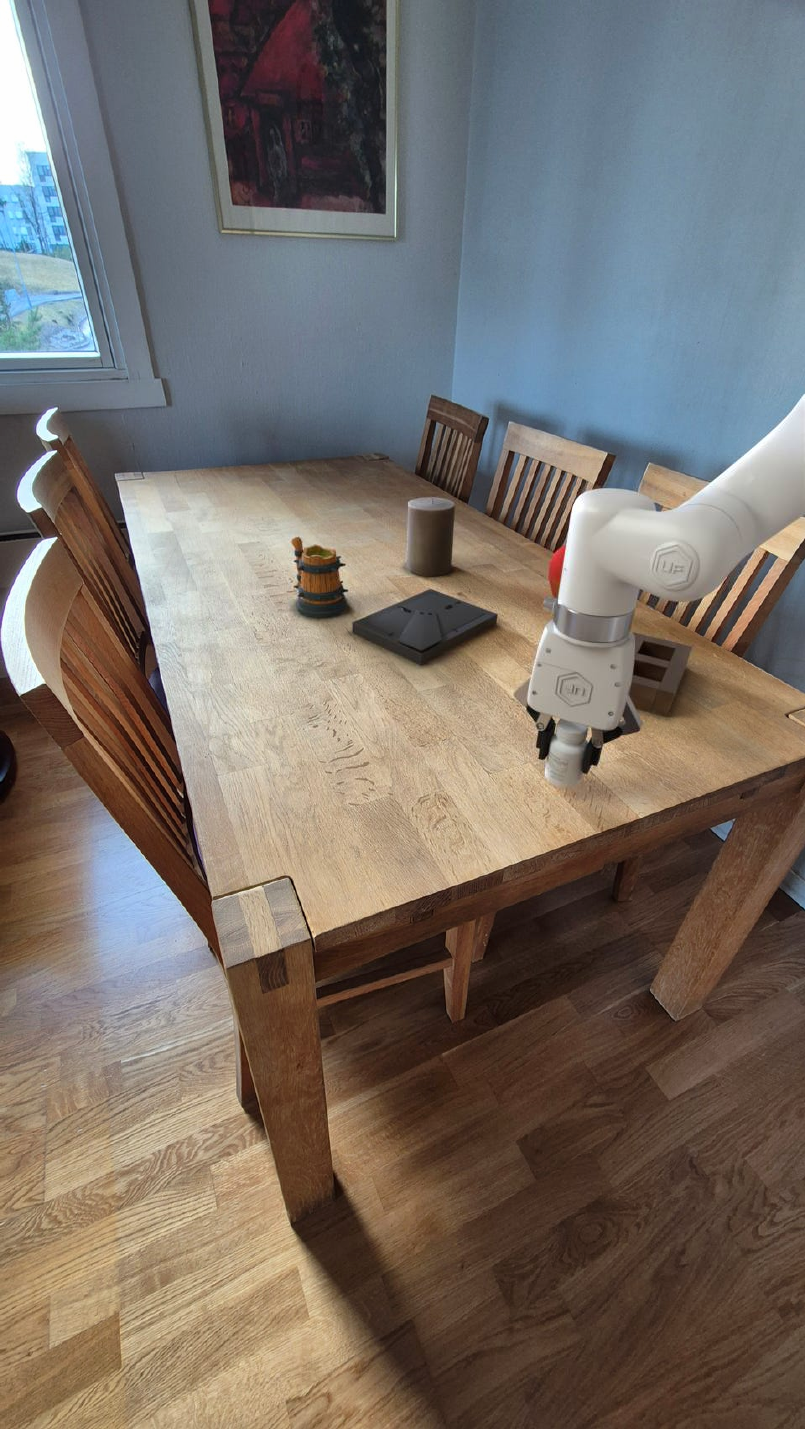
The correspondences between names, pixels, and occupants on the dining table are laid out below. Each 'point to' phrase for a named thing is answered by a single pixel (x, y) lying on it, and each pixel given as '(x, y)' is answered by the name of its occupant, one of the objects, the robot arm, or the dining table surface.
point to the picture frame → (424, 625)
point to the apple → (556, 570)
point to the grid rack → (657, 673)
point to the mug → (318, 581)
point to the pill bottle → (566, 754)
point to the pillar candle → (430, 536)
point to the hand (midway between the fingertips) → (566, 759)
